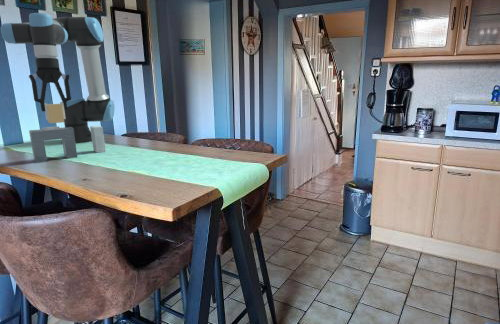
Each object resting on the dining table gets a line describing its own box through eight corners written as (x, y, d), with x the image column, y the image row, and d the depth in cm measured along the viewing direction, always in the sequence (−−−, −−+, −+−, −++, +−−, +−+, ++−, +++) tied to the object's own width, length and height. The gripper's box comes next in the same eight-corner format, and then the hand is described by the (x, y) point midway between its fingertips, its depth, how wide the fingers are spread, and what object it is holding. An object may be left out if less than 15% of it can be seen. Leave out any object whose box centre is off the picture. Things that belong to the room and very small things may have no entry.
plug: (58, 118, 145) (55, 102, 144) (64, 122, 133) (61, 104, 131) (44, 119, 143) (42, 102, 141) (49, 123, 130) (47, 105, 128)
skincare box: (106, 151, 161) (103, 126, 158) (96, 153, 158) (93, 127, 155) (102, 149, 166) (99, 125, 163) (92, 150, 163) (89, 126, 160)
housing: (74, 154, 155) (70, 125, 151) (77, 157, 150) (73, 126, 147) (34, 160, 146) (28, 128, 142) (35, 162, 141) (30, 130, 137)
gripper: (71, 58, 135) (78, 116, 141) (17, 57, 125) (28, 120, 130) (74, 57, 129) (82, 118, 135) (18, 56, 119) (30, 122, 125)
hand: (56, 119), depth 133 cm, fingers closed on plug, 5 cm apart
